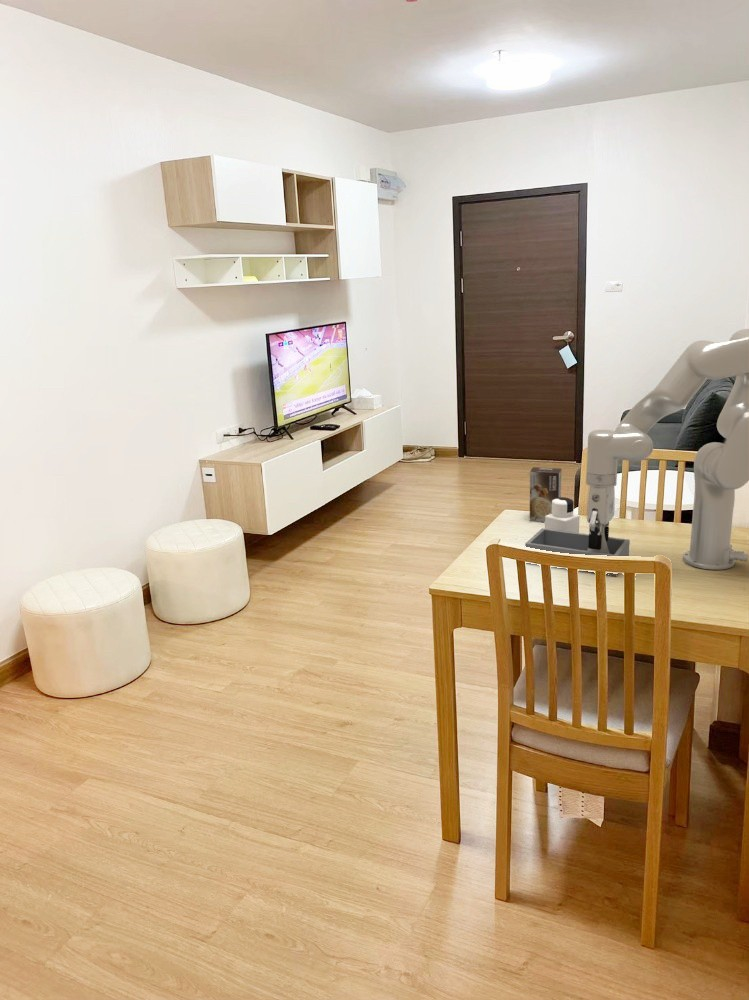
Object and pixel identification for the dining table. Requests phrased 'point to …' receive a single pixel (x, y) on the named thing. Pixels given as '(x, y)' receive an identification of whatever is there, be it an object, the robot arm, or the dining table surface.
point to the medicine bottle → (562, 516)
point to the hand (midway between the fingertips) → (598, 543)
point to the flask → (604, 545)
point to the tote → (575, 544)
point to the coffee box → (543, 491)
